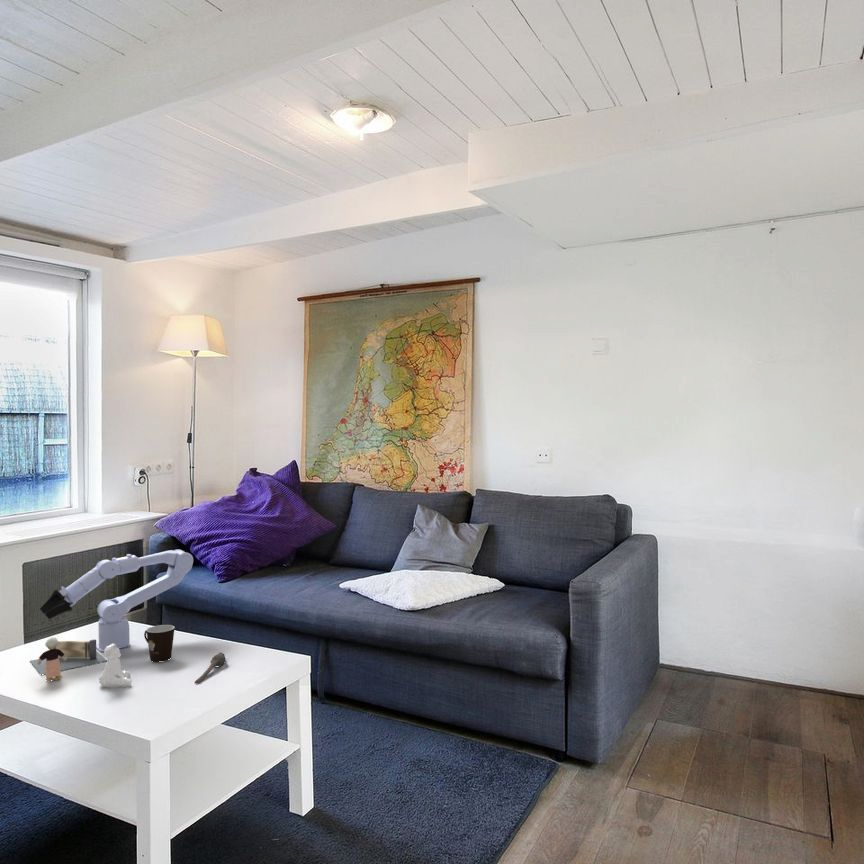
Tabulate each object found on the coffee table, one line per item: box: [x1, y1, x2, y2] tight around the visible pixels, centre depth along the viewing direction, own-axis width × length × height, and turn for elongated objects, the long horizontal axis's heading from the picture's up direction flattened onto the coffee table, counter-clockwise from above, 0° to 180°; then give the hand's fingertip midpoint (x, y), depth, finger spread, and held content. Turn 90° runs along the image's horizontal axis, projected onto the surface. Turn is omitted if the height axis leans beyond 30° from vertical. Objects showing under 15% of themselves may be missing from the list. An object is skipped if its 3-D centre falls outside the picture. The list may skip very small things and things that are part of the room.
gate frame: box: [29, 639, 108, 676], centre depth 221 cm, size 19×17×7 cm
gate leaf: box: [55, 640, 90, 658], centre depth 224 cm, size 12×1×5 cm, turn 86°
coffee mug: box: [143, 624, 175, 663], centre depth 224 cm, size 12×9×10 cm
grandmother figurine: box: [37, 636, 67, 682], centre depth 205 cm, size 8×4×13 cm, turn 135°
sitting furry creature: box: [98, 644, 132, 689], centre depth 201 cm, size 10×9×12 cm
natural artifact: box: [194, 652, 227, 684], centre depth 212 cm, size 4×23×4 cm, turn 169°
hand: (44, 614), depth 224 cm, fingers open, 7 cm apart
